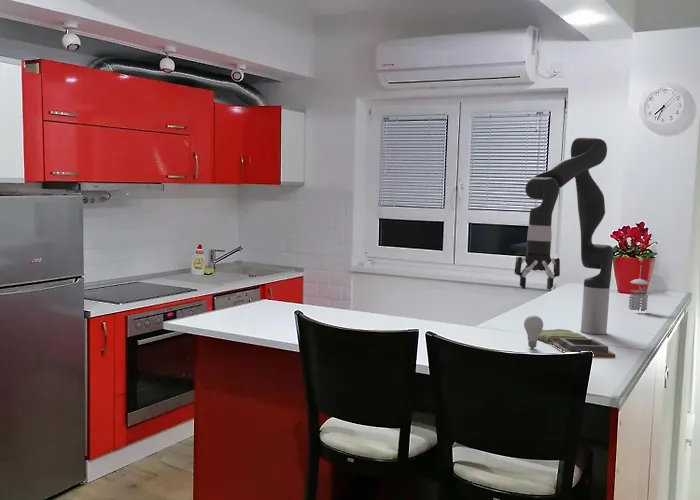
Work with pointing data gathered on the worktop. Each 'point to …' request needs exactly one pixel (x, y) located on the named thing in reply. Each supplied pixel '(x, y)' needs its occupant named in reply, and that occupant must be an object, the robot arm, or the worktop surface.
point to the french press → (638, 295)
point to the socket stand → (583, 346)
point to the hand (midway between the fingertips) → (536, 288)
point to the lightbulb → (533, 329)
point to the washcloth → (558, 335)
